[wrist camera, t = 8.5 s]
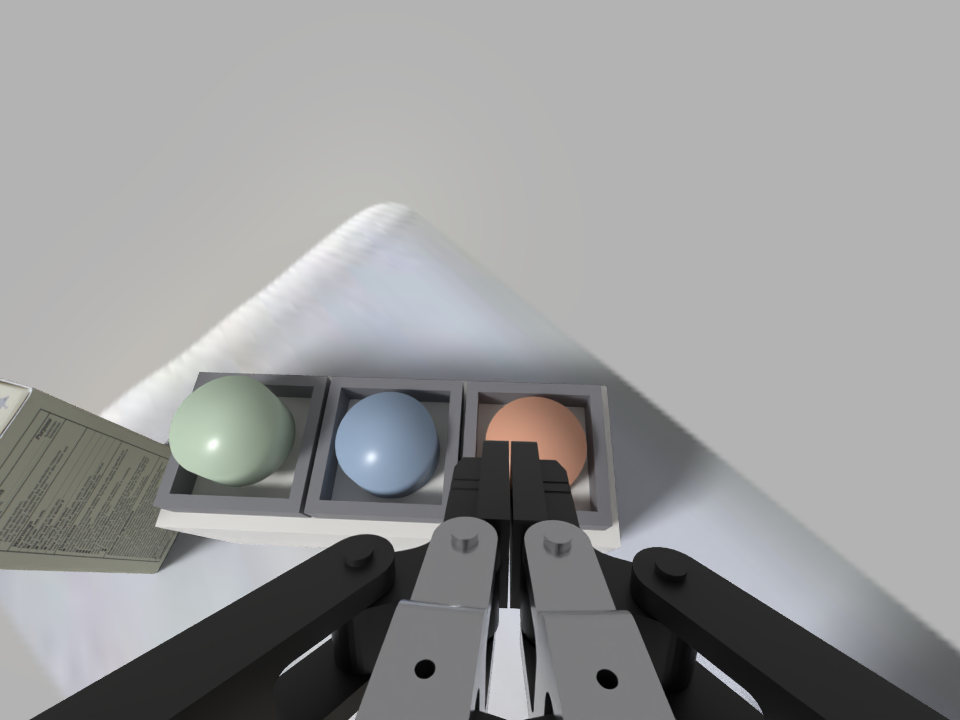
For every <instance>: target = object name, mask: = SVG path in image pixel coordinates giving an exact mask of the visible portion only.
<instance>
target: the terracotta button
mask: <svg viewBox="0 0 960 720" xmlns="http://www.w3.org/2000/svg"><path fill="white" fill-rule="evenodd" d="M486 440H496V441H509V473H510V455H511V441H530V442H537V444H538V452H539V459H540V460H557V461H558V462H559V463H560V464H561V466H562V467H563V468H564V469H565V470H566V471H567V476H568V480H569V484H570V486H571V485H572V483H573V482H574V481H575V479H576V478H577V477H578V475H579V474H580V472H581V470H582V468H583V466H584V463H585V460H586V455H587V442H586V437H585V433H584V430H583V428H582V426H581V424H580V422H579V421H578V419H577V418H576V417H575V415H574V414H573V413H572V412H571V411H570V410H568V409H567V408H566V407H565V406H563V405H562V404H560V403H558V402H556V401H554V400H551V399H548V398H543V397H524V398H520V399H517V400H514V401H512V402H510V403H508V404H507V405H505V406H504V407H503V408H501V409H500V410H499V411H498V412H497V413H496V415H495V416H494V417H493V419H492V421H491V422H490V424H489V427H488V430H487V434H486Z"/></svg>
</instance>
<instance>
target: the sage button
mask: <svg viewBox="0 0 960 720" xmlns="http://www.w3.org/2000/svg"><path fill="white" fill-rule="evenodd" d="M295 431H296V428H295V421H294V418H293V415H292V413H291V412H290V410H289V408H288V407H287V406H286V405H285V404H284V403H283V402H282V401H281V400H280V399H279V398H277V397H276V396H275V395H274V394H273V393H272V392H271V391H270V390H269V389H268V388H267V387H266V386H265V385H263V384H262V383H261V382H259V381H257V380H256V379H253V378H250V377H246V376H238V375H236V376H225V377H221V378H217V379H215V380H212V381H210V382H208V383H206V384H204V385H202V386H201V387H199V388H198V389H196V390H195V391H194V392H193V393H191V394H190V395H189V396H188V397H187V398H186V399H185V401H184V402H183V403H182V404H181V406H180V407H179V408H178V410H177V412H176V414H175V416H174V418H173V420H172V423H171V427H170V432H169V443H170V449H171V452H172V454H173V456H174V458H175V459H176V461H177V462H178V463H179V464H180V465H181V466H182V467H183V468H185V469H186V470H188V471H190V472H193V473H195V474H197V475H200V476H202V477H204V478H207V479H209V480H212V481H214V482H216V483H219V484H221V485H225V486H229V487H243V486H248V485H252V484H255V483H257V482H260V481H262V480H264V479H265V478H267V477H268V476H270V475H271V474H273V473H274V472H275V471H276V470H277V469H278V468H279V467H280V466H281V465H282V464H283V463H284V461H285V460H286V459H287V457H288V455H289V453H290V451H291V449H292V447H293V444H294V440H295Z"/></svg>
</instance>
